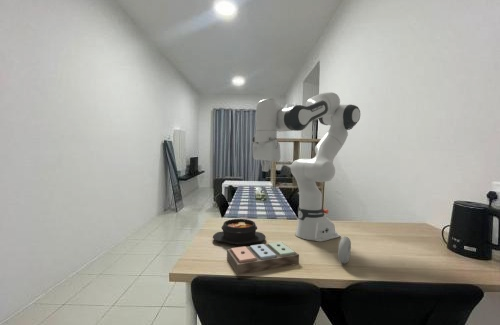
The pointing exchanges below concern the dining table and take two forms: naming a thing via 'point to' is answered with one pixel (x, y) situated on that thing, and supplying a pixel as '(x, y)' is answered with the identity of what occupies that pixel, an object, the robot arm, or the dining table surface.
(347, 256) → the donut
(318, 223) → the robot arm
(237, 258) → the counting block
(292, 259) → the wooden counting block tray
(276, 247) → the counting block
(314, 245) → the dining table surface
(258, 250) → the counting block
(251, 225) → the casserole
